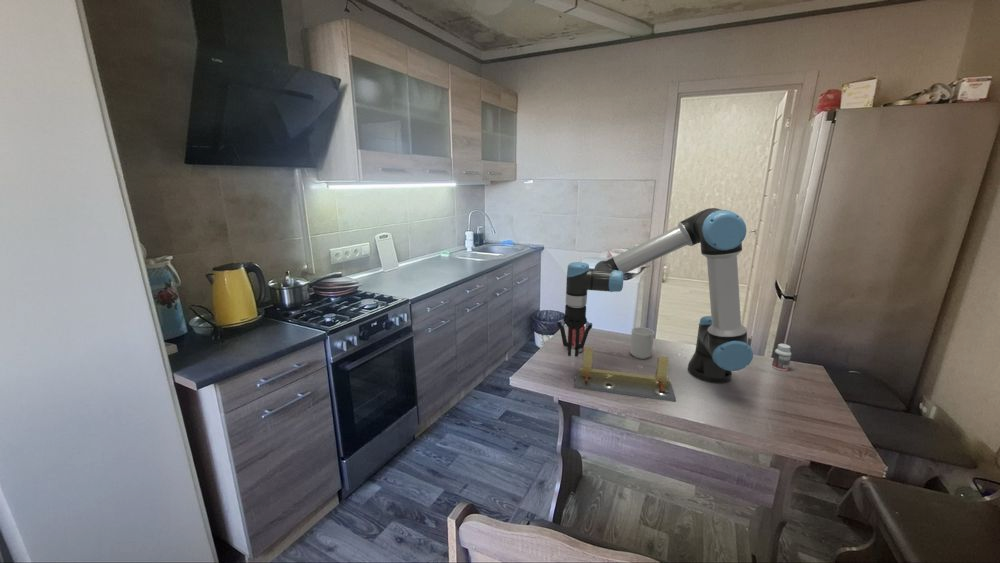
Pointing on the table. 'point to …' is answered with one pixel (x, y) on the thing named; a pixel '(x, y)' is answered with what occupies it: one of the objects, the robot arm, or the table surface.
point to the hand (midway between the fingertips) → (572, 363)
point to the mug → (641, 342)
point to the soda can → (579, 337)
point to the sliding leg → (587, 362)
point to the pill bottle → (782, 357)
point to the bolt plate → (630, 382)
